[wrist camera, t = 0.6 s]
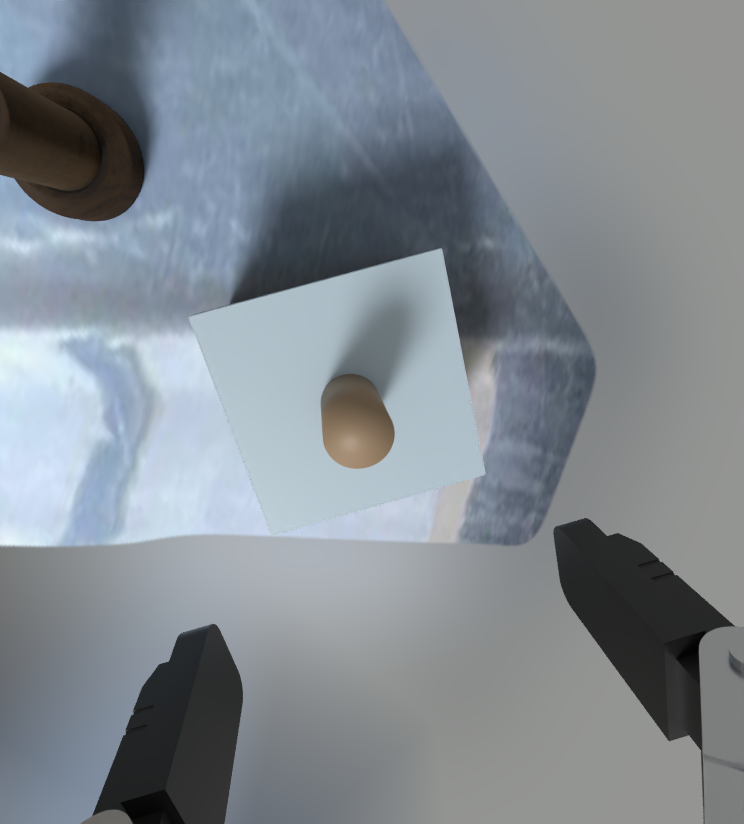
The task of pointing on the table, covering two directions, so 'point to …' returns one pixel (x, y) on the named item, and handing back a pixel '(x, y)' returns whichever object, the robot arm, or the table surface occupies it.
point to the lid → (345, 390)
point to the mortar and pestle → (68, 150)
